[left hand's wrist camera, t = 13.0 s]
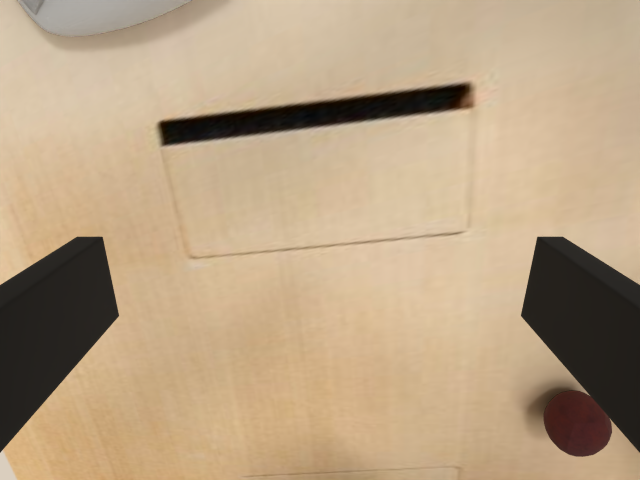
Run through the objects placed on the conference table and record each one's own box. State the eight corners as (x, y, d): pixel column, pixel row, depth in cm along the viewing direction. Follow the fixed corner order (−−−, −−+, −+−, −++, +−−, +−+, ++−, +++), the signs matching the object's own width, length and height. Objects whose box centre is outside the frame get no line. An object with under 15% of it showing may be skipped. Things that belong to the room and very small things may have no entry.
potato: (530, 425, 55) (558, 471, 49) (537, 380, 53) (568, 422, 46) (584, 422, 55) (619, 468, 49) (594, 377, 52) (633, 419, 46)
